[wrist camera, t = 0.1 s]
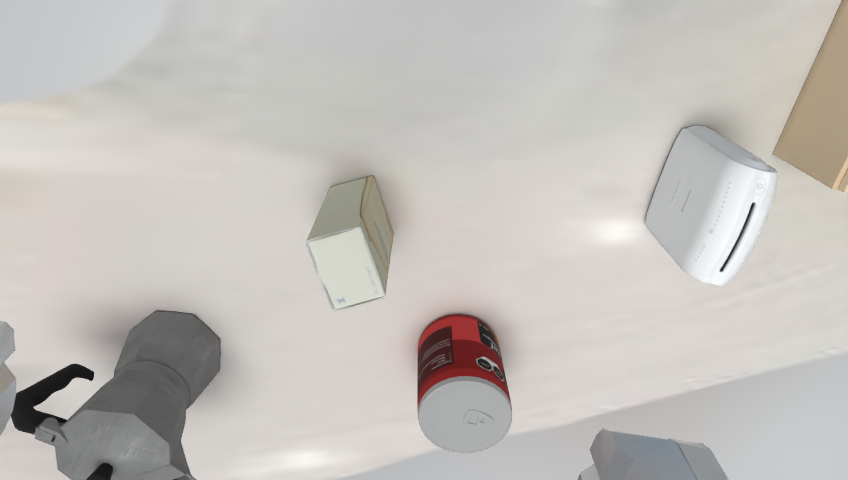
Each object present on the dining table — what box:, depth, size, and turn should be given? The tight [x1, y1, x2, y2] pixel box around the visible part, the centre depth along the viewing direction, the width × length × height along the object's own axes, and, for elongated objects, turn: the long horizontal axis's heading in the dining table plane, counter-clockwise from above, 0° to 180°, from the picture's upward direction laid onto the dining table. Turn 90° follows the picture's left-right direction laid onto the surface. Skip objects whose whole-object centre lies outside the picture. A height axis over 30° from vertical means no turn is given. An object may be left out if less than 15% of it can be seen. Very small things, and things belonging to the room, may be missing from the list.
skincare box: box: [306, 176, 393, 312], centre depth 54 cm, size 6×4×12 cm
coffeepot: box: [11, 311, 221, 480], centre depth 57 cm, size 15×9×18 cm, turn 60°
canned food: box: [418, 315, 512, 453], centre depth 60 cm, size 8×8×11 cm
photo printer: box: [645, 125, 777, 286], centre depth 53 cm, size 10×4×12 cm, turn 167°
